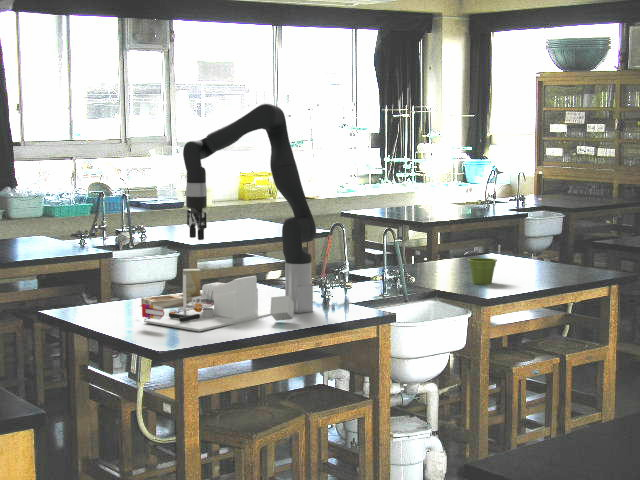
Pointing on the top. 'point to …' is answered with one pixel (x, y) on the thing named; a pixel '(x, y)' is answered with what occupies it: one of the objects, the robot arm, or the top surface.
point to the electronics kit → (229, 307)
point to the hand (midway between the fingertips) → (196, 238)
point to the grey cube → (282, 308)
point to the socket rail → (168, 300)
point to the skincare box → (192, 282)
